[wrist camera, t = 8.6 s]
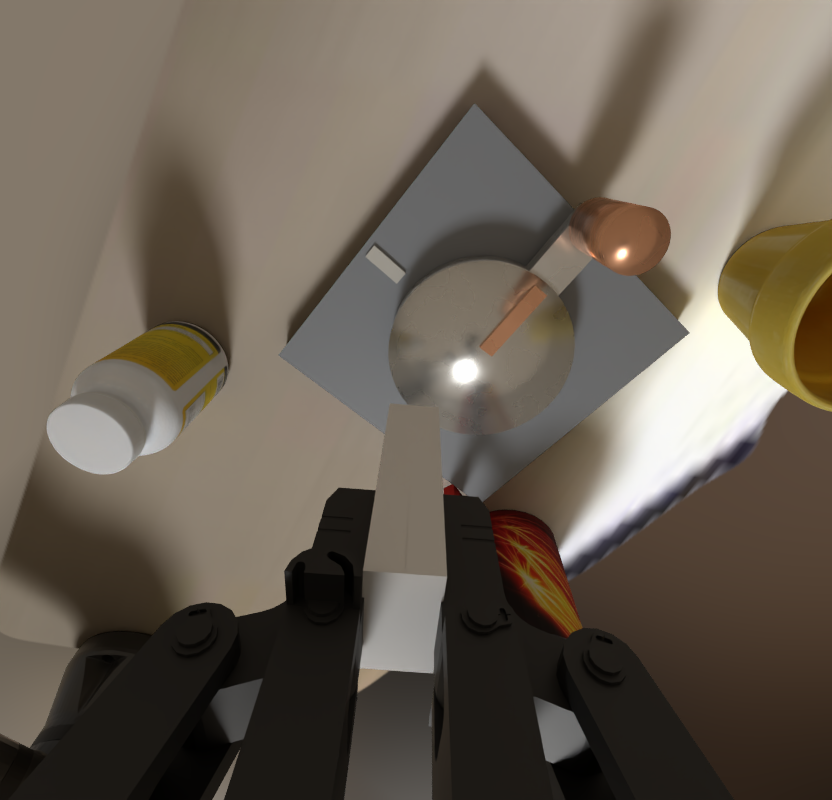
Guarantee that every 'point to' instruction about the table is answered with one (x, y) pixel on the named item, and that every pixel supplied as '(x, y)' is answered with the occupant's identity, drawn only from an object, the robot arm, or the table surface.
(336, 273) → the table surface
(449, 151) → the base plate
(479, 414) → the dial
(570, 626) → the mug
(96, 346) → the table surface
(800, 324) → the plant pot
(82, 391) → the pill bottle
